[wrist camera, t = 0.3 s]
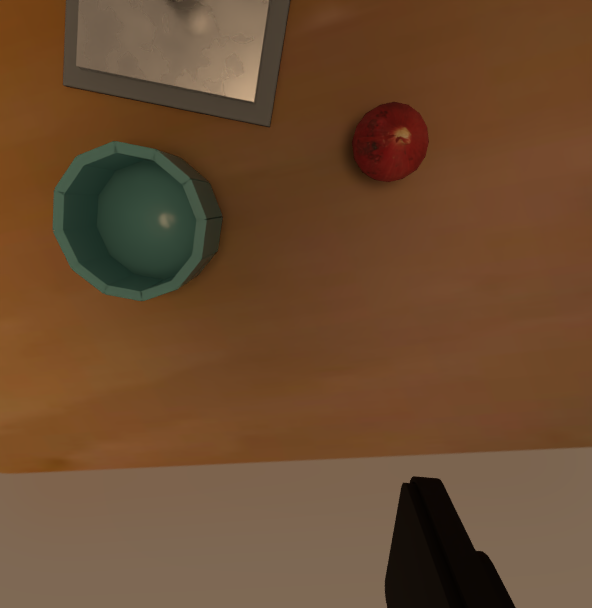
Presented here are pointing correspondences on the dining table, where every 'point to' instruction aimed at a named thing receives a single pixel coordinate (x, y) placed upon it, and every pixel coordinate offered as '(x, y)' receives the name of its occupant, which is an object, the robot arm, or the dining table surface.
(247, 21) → the lid
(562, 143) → the dining table surface
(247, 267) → the dining table surface
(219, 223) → the bowl
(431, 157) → the dining table surface
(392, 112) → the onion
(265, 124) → the mat
